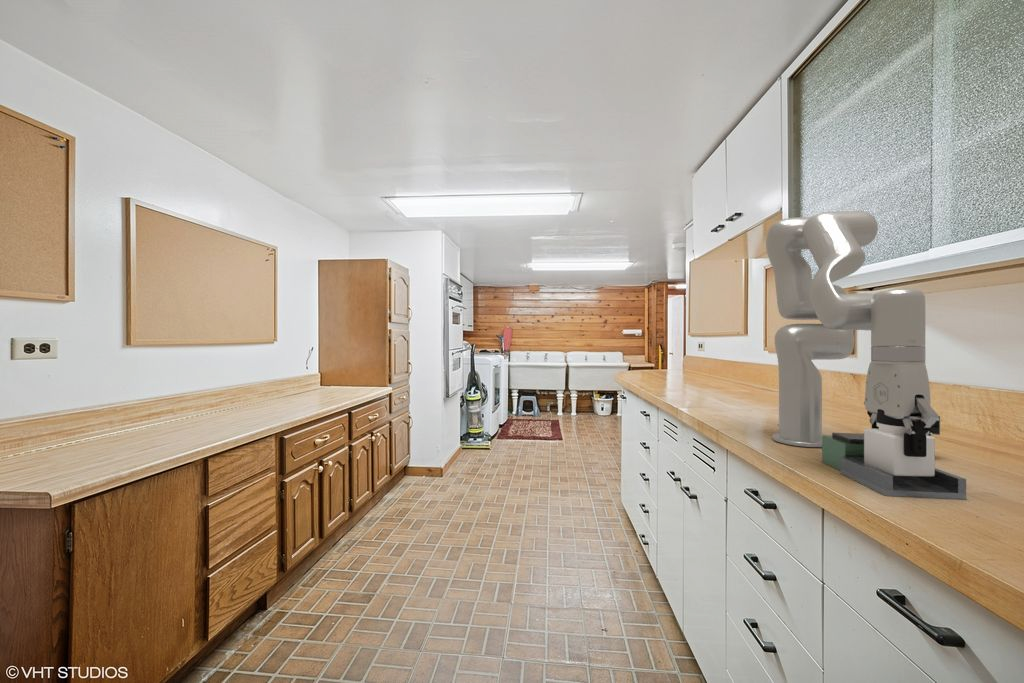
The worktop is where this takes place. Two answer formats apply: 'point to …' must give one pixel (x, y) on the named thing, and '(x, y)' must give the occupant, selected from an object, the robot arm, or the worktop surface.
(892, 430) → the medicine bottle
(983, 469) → the worktop surface
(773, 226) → the robot arm
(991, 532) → the worktop surface
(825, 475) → the worktop surface
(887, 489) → the grey and green bracket
